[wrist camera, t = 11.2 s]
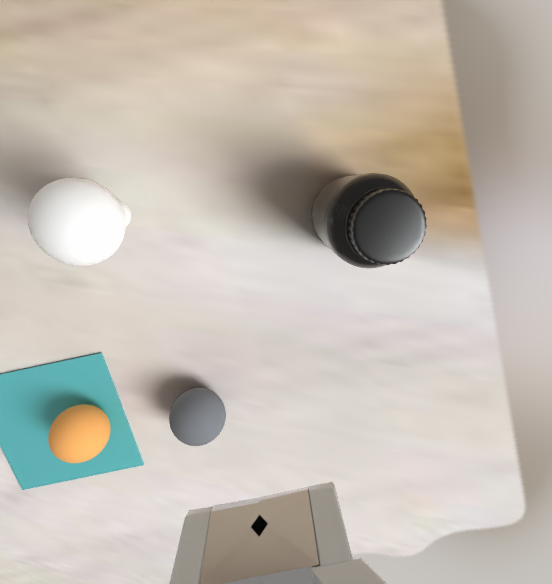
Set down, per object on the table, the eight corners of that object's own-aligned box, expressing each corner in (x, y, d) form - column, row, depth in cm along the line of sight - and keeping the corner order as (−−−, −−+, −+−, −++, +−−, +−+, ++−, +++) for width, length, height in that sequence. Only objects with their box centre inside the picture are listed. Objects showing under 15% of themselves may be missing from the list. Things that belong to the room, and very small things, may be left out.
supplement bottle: (380, 170, 34) (442, 163, 22) (385, 244, 36) (444, 272, 24) (306, 181, 34) (330, 179, 22) (314, 254, 36) (340, 288, 24)
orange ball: (129, 439, 38) (106, 424, 42) (102, 400, 36) (80, 387, 39) (80, 484, 35) (59, 463, 38) (46, 443, 32) (28, 425, 36)
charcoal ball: (244, 424, 37) (220, 400, 41) (216, 390, 34) (193, 369, 39) (203, 467, 35) (182, 437, 40) (169, 436, 32) (150, 408, 37)
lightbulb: (74, 224, 34) (-9, 242, 23) (103, 165, 33) (29, 156, 22) (135, 259, 35) (81, 291, 25) (165, 203, 34) (122, 212, 23)
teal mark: (23, 488, 42) (22, 489, 42) (-31, 380, 38) (-33, 381, 38) (143, 463, 41) (143, 465, 41) (101, 352, 38) (100, 353, 37)
